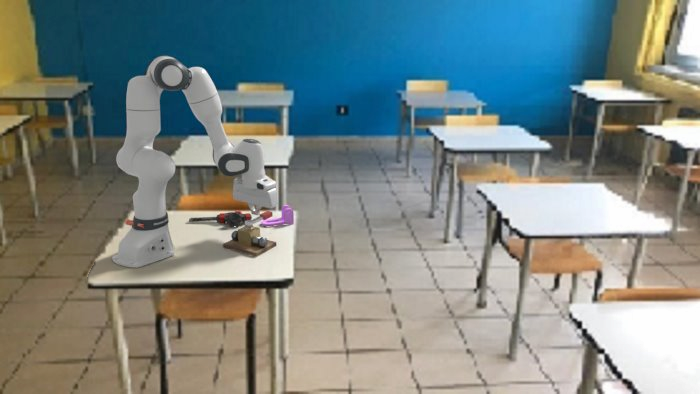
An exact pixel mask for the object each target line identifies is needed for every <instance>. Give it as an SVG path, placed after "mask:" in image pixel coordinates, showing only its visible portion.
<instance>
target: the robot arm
mask: <svg viewBox="0 0 700 394" xmlns="http://www.w3.org/2000/svg"><path fill="white" fill-rule="evenodd" d="M163 91H169V92H170V91H171V92H174V91H182V92H183V94H184V96H185V98H186V101H187V104H188V105H189V107H190V109H191V112H192V113H193V115H194V116H195V118H196V119H197V120H198V121H199V122H200V123H201V124H202V125H203V126H204V128H205V130H206V133H207V135H208V138H209V140H210V143H211V145H212V160H213V163H214V164H215V165H216V167H217V169H218V170H219V172H220V173H221V174H222V175H224V176H226V177H235V176H237V177H235V178H234V179H233V188H232V198H233V199H234V201H239V202H242V203H246V204H248V207H249V209H250V214H251V215H253V216H260V214H261V212H260V211H261V209H262V208H267V209H273V208H275V207H277V206H278V203H279V199H278V198H279V196H278V190H277V188H276V186H277V182H276V181H275V180H274V179H272V178H271V177H269V176H268V175H266V170H265V164H266V163H265V161H266V160H265V159H266V158H265V149H264V146H263V143H261V141H259V140H257V139H255V138H244V139H242V140H241V141H240V142H238V144H236V145H234V144H232V143H231V141H230V140H229V138H228V136H227V134H226V131H225V129H224V126H223V124H222V120H221V119H222V114H223V106H222V102H221V97H220V96H219V93H218V90H217V88H216V85H215V83H214V81H213V80H212V78H211V77H210V75H209V73H208V71H207V70H206V69H205V68H203V67H202V66H201V67H200V66H192V67H189V68H188V67H187V66H185V65H184V64H183V63H182V62H180V61H179V60H178V59H176V58H174V57H172V56H169V55H159V56H156V57H154V58H153V59H152V60H150V62H149V64H148V66H147V68H146V69H145V71H144V72H143V75H136V76H134V77H132V78H130V80H129V81H128V82H127V90H126V97H125V99H126V100H125V102H126V103H125V104H126V107H125V108H126V110H125V112H126V136H125V138H124V143H123V145H122V147H121V148H120V149H119V150H118V152H117V154H116V158H115V161H116V164H117V166H118V168H119V169H121V170H122V171H123V172H124V173H125V174H127V175H129V176H133V177H137V178H138V188H137V190H136V191H134V193H133V195H132V203H133V212H134V215H133V219H126V220H125V225H127V226H130V227H131V228H130V229H129V230H128V232H127V233H126V234H125V236H124V237H123V238H122V239H121V240H120V241H119V243H118V247H117V249H118V250H117V251H118V253H116V254H114V255H112V257H111V260H112V262H113V263H114V264H117V265H119V266H122V267H127V268H137V269H138V268H141V267H144V266H147V265H150V264H152V263H155V262H159V261H161V260H163V259H167V258H171V257H172V256H174V255H175V252H174V251H175V245H174V243H173V240H172V238H171V233H170V230H169V215H168V211H167V203H166V201H167V200H166V191H167V190H166V189H167V184H168V181H170V180H171V179H172V178H173V177H174V175H175V172H176V163H175V161H174V159H173V157H171V156H170V155H168V154H166V153H165V152H163V151H161V150H156V149H154V147H153V145H154V141H155V137H156V136H158V135H159V133H160V132H161V130H162V127H161V104H160V103H161V102H160V100H161V96H162V95H161V94H162V93H163ZM239 175H241V177H238V176H239Z"/></svg>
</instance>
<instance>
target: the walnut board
mask: <svg viewBox="0 0 700 394" xmlns="http://www.w3.org/2000/svg"><path fill="white" fill-rule="evenodd" d="M267 240H268V244H267V246H266V247H264V248H262V247H259V246H258V245H254V246H252V247H250V246H246V245H242V244H239V242H238V241H235V240H233V239H232V238H231V239H230V240H228V241H226V242H224V243H222V249H225V250H229V251H234V252H237V253H240V254H244V255H247V256H252V257H255V258H257V257H259V256H261V255H263V254H265V253H267V252H268V251H270V250H271V249H273V248H275V247H277V241H274V240H269V239H267Z"/></svg>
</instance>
